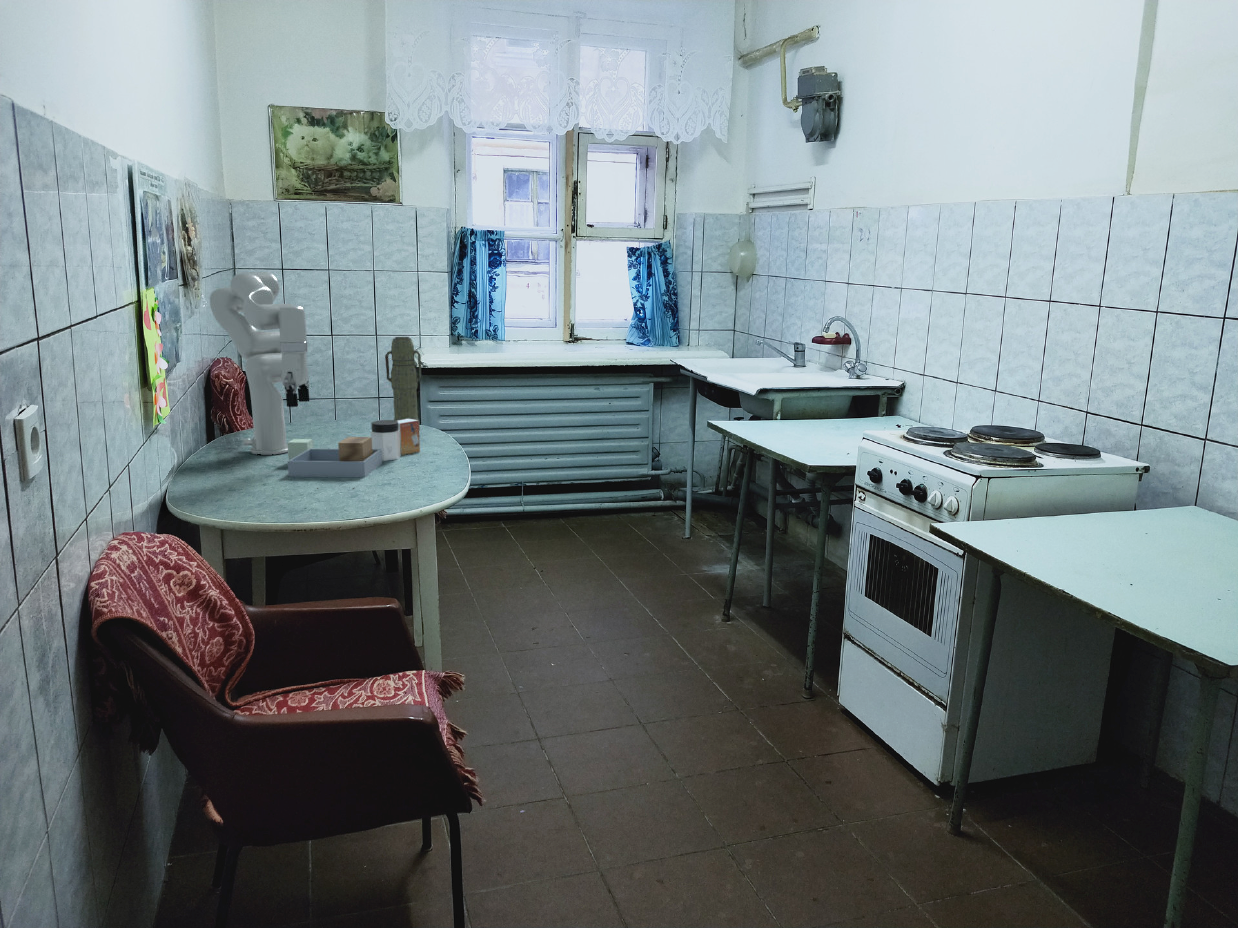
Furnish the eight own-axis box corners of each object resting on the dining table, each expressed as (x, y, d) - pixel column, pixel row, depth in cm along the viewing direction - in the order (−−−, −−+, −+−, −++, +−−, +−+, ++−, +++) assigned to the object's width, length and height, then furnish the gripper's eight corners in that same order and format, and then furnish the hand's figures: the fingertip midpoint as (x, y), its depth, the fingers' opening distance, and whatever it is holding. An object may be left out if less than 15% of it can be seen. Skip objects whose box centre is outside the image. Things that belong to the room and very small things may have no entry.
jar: (377, 464, 278) (374, 425, 275) (368, 459, 285) (366, 421, 282) (405, 460, 283) (403, 422, 280) (396, 455, 289) (394, 418, 287)
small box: (401, 455, 290) (399, 423, 287) (389, 453, 293) (388, 421, 291) (420, 451, 296) (419, 419, 294) (409, 449, 299) (407, 418, 297)
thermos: (388, 435, 321) (383, 336, 313) (422, 434, 325) (418, 335, 317) (390, 440, 313) (384, 338, 305) (425, 438, 316) (420, 338, 309)
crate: (289, 478, 259) (287, 461, 258) (310, 465, 276) (309, 448, 275) (365, 479, 259) (364, 461, 258) (382, 466, 276) (381, 449, 274)
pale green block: (289, 464, 277) (287, 442, 276) (295, 461, 282) (293, 439, 281) (308, 464, 277) (306, 442, 276) (314, 461, 282) (312, 439, 280)
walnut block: (340, 473, 263) (338, 442, 261) (350, 466, 272) (348, 436, 270) (364, 473, 263) (362, 443, 261) (373, 466, 271) (371, 437, 269)
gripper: (292, 344, 280) (296, 399, 284) (270, 350, 263) (275, 408, 267) (316, 344, 280) (320, 399, 284) (296, 350, 263) (300, 408, 267)
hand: (298, 404), depth 276 cm, fingers open, 9 cm apart
